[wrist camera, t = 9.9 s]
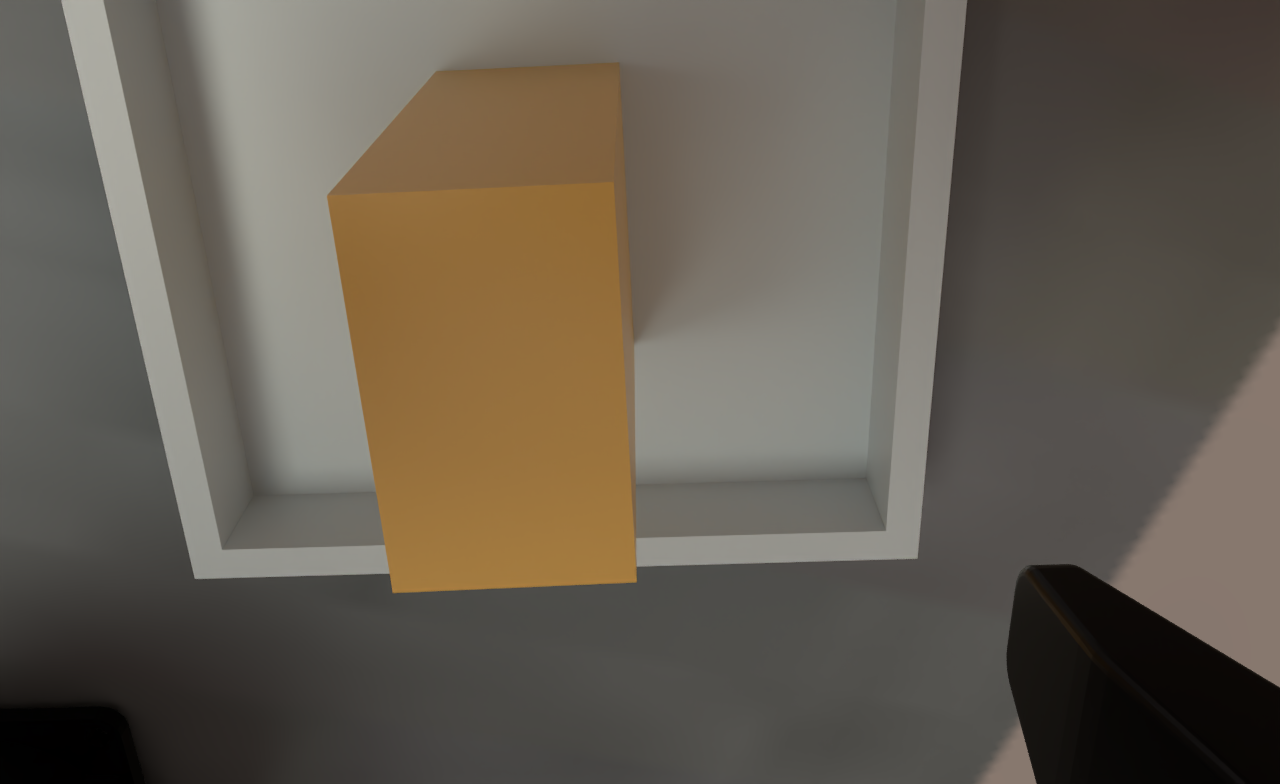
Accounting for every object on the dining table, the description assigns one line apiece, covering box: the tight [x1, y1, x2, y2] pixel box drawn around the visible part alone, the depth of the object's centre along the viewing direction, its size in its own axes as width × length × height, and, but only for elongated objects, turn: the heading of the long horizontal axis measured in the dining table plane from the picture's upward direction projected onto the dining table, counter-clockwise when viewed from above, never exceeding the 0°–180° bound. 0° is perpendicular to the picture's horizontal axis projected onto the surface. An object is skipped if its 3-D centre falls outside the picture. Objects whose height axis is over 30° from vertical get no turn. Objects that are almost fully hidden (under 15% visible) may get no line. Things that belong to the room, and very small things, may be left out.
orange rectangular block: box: [327, 62, 637, 593], centre depth 16 cm, size 3×5×8 cm, turn 3°
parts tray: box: [61, 0, 967, 579], centre depth 19 cm, size 13×12×2 cm
